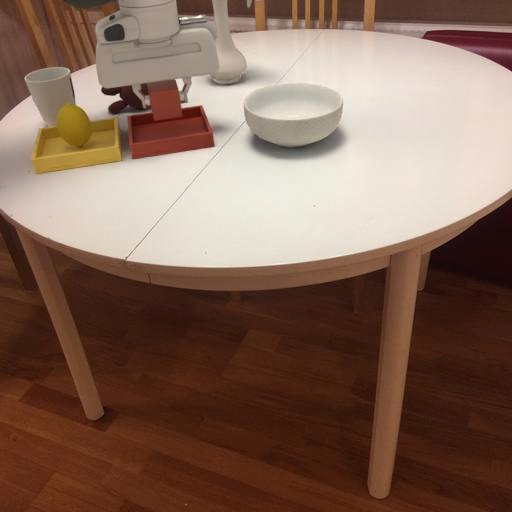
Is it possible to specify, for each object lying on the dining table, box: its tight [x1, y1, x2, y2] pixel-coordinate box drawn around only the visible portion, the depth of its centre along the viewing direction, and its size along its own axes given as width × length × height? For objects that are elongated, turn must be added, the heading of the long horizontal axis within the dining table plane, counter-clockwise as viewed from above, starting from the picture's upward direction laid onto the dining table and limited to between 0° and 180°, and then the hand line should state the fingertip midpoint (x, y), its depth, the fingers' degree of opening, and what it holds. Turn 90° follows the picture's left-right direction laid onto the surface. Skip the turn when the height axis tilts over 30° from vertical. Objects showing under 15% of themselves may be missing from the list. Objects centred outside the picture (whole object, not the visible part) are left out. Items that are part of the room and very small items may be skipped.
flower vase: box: [208, 0, 261, 85], centre depth 110 cm, size 13×18×25 cm
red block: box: [147, 79, 183, 121], centre depth 91 cm, size 5×5×5 cm
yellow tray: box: [30, 116, 123, 175], centre depth 92 cm, size 14×13×3 cm
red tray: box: [126, 104, 216, 160], centre depth 95 cm, size 14×13×3 cm
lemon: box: [57, 103, 92, 148], centre depth 90 cm, size 6×6×8 cm
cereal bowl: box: [243, 82, 344, 148], centre depth 90 cm, size 17×17×7 cm
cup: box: [24, 66, 77, 127], centre depth 100 cm, size 8×8×10 cm
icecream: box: [100, 80, 166, 115], centre depth 106 cm, size 7×7×15 cm
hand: (165, 104), depth 92 cm, fingers closed on red block, 5 cm apart
